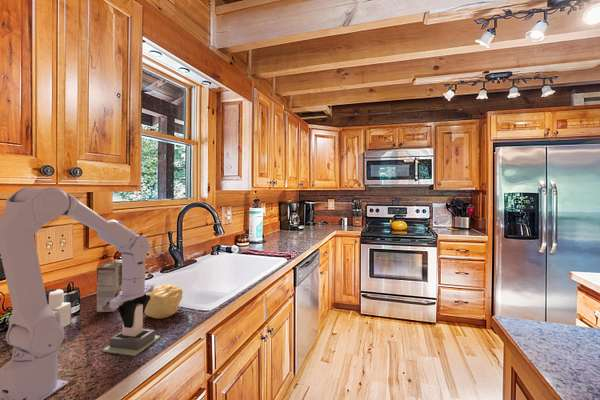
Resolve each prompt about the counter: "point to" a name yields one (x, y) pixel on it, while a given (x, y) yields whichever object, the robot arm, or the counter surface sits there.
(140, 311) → the keyed plug
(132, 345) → the socket board
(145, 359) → the counter surface
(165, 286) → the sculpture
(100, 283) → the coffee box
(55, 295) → the white stepped block
